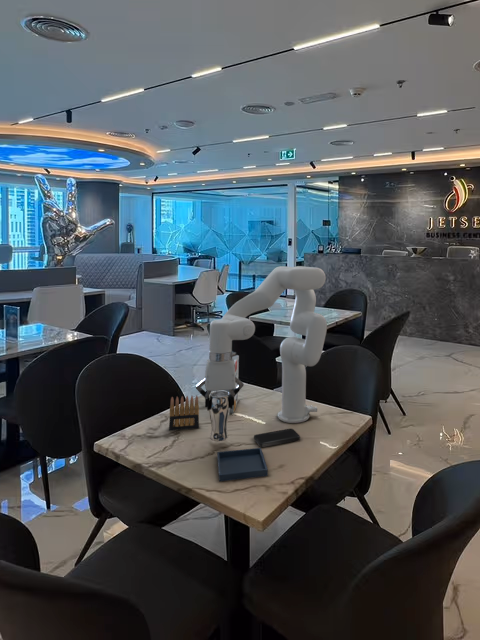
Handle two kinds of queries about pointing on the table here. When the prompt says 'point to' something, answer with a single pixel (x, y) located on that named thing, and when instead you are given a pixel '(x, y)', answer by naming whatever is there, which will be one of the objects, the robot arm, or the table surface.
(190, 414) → the ammunition clip
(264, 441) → the phone
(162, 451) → the table surface
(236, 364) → the hard drive box
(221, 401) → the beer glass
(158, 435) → the table surface
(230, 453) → the tray
